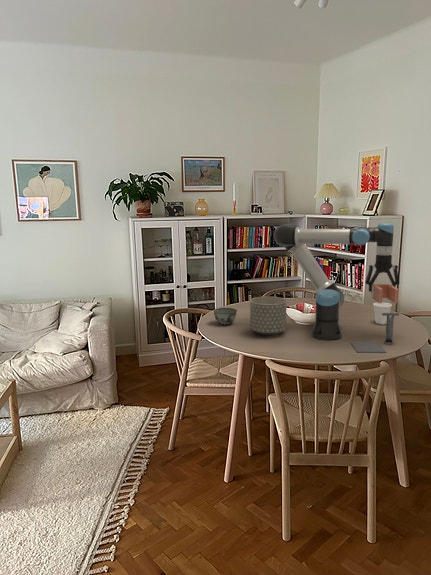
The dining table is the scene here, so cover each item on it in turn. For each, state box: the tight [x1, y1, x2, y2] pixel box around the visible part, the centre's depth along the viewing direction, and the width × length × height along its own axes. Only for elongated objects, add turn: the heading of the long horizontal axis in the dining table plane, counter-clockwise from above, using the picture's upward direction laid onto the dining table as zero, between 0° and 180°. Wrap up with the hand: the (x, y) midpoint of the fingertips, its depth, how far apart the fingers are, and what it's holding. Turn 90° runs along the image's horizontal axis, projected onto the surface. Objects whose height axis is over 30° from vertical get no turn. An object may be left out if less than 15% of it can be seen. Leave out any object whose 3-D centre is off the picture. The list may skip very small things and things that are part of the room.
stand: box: [382, 312, 400, 345], centre depth 204 cm, size 8×4×15 cm, turn 86°
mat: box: [350, 341, 387, 354], centre depth 199 cm, size 13×13×1 cm
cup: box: [372, 302, 393, 325], centre depth 238 cm, size 10×10×11 cm
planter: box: [249, 295, 287, 336], centre depth 223 cm, size 19×19×18 cm
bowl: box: [213, 307, 238, 326], centre depth 244 cm, size 14×13×8 cm
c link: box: [372, 283, 400, 304], centre depth 211 cm, size 9×13×7 cm
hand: (381, 297), depth 216 cm, fingers closed on c link, 9 cm apart
